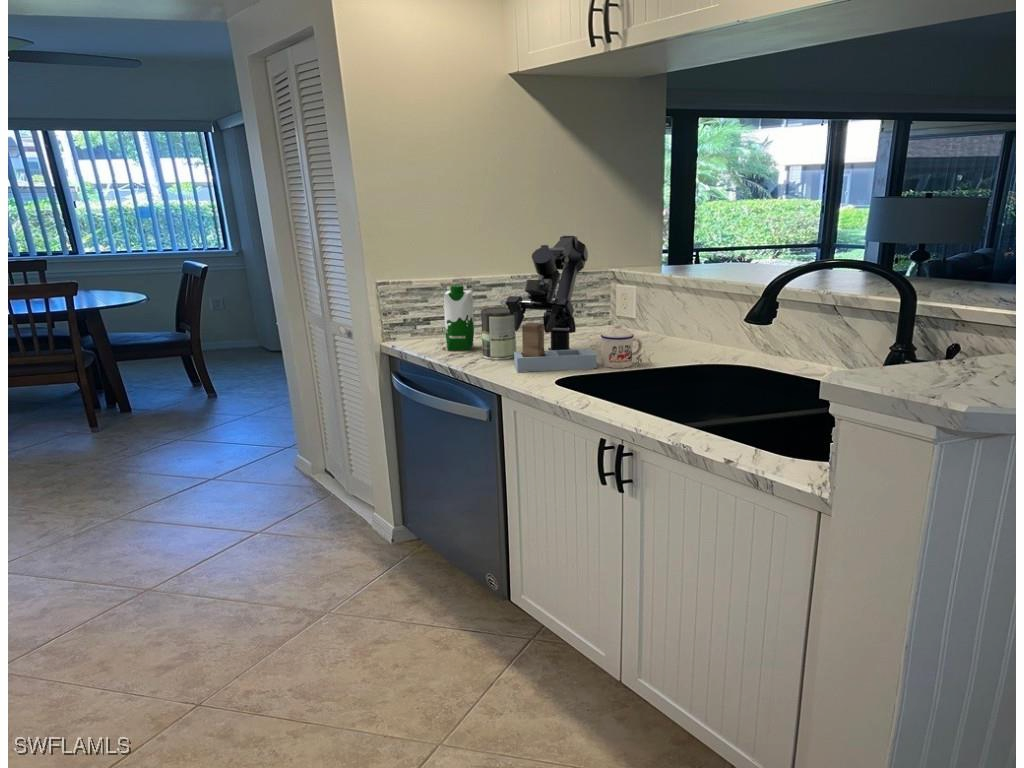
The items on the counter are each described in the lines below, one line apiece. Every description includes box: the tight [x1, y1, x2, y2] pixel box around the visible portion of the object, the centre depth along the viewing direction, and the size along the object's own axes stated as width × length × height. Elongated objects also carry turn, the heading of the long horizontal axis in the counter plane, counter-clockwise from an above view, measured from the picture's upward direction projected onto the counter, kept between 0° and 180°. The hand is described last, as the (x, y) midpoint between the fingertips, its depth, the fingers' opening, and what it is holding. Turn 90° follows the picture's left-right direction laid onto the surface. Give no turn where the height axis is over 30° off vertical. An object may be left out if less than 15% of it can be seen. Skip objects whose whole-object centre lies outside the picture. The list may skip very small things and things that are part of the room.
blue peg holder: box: [513, 348, 598, 373], centre depth 214 cm, size 22×8×4 cm, turn 96°
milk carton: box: [443, 284, 475, 352], centre depth 240 cm, size 9×9×20 cm
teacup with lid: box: [600, 323, 643, 369], centre depth 215 cm, size 12×9×12 cm
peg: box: [521, 322, 545, 357], centre depth 213 cm, size 4×4×12 cm
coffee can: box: [480, 306, 517, 361], centre depth 228 cm, size 10×10×14 cm
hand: (530, 331), depth 210 cm, fingers open, 9 cm apart
